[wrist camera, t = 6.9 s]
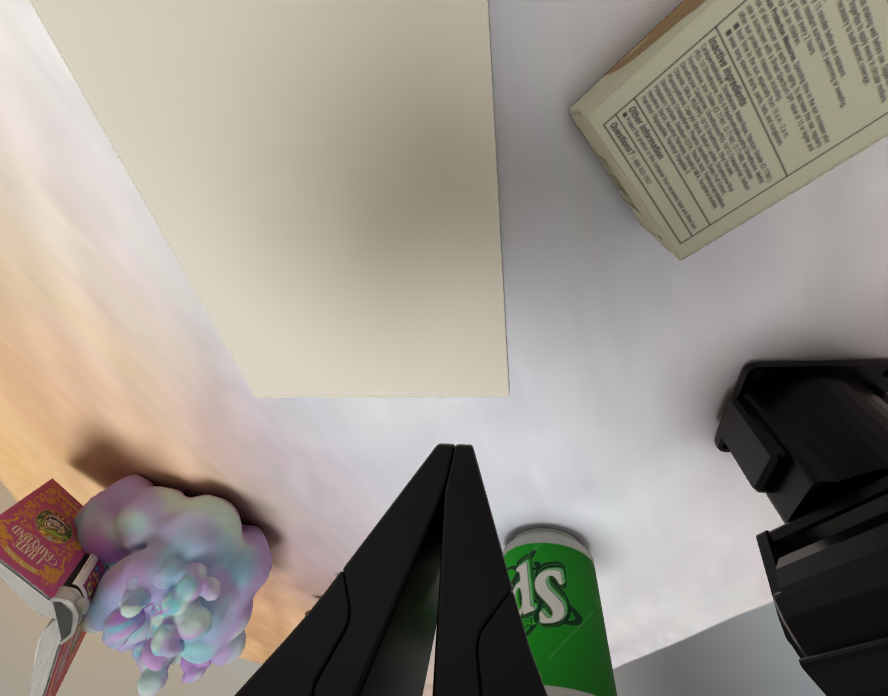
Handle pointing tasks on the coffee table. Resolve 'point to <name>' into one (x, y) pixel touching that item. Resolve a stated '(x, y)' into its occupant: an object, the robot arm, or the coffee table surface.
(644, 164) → the skincare box
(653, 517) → the coffee table surface
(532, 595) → the soda can
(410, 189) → the cream mat
